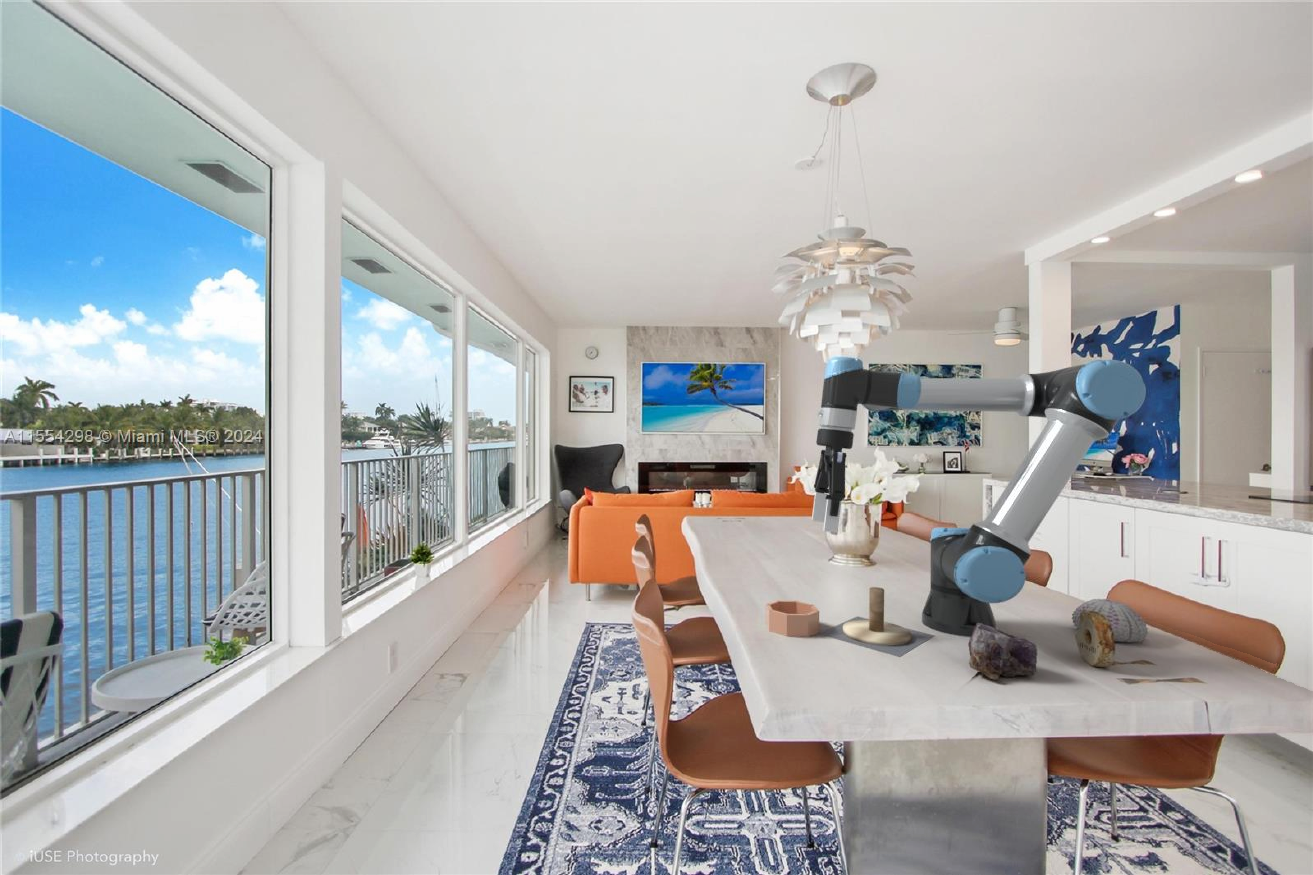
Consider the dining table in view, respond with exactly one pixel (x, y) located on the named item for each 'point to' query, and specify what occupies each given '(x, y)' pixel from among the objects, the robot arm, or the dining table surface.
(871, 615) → the oak lid
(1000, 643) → the rock
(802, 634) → the terracotta bowl
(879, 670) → the dining table surface
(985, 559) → the robot arm
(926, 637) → the rubber mat
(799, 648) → the dining table surface
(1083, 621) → the stone disc
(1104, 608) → the sea urchin shell
